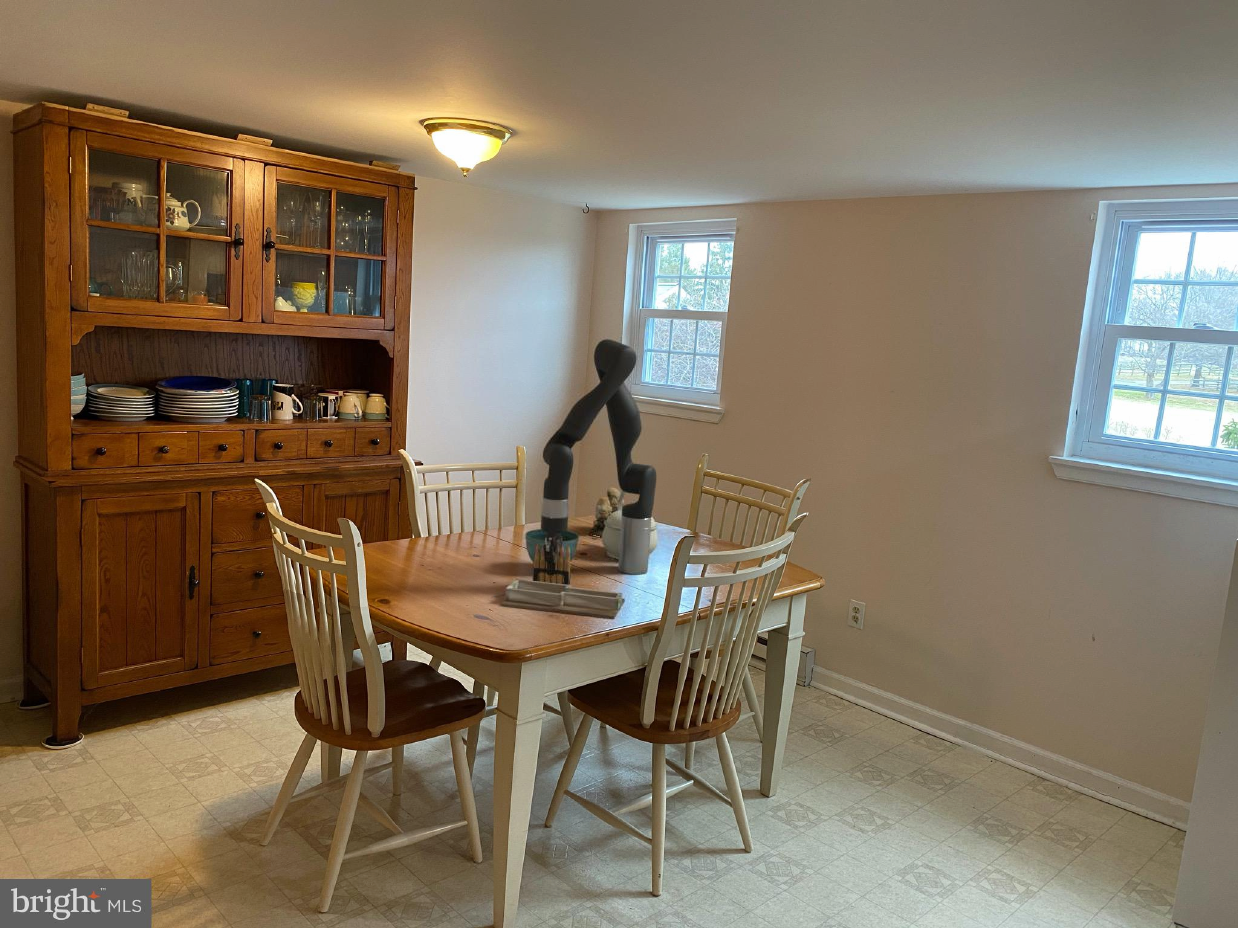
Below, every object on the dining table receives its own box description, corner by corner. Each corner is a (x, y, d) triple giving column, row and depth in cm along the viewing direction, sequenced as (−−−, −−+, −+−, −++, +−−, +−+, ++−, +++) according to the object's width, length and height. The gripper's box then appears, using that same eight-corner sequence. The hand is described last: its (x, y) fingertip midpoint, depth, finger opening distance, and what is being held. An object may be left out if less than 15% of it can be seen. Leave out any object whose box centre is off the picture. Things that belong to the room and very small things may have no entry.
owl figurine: (602, 526, 344) (605, 482, 342) (631, 531, 340) (635, 486, 338) (582, 535, 328) (585, 488, 325) (613, 540, 323) (616, 492, 321)
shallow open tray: (518, 589, 256) (519, 576, 256) (624, 601, 252) (625, 588, 251) (501, 605, 241) (502, 591, 240) (614, 618, 236) (615, 604, 235)
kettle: (667, 563, 296) (673, 487, 292) (614, 565, 289) (620, 487, 285) (637, 544, 319) (642, 474, 315) (588, 546, 312) (592, 474, 308)
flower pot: (569, 579, 270) (571, 543, 268) (516, 573, 273) (518, 537, 272) (582, 566, 286) (584, 532, 284) (532, 560, 289) (534, 526, 287)
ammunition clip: (531, 584, 260) (533, 543, 258) (533, 583, 262) (535, 542, 260) (568, 589, 258) (570, 547, 257) (570, 587, 260) (572, 546, 258)
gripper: (548, 507, 264) (545, 566, 267) (535, 517, 251) (532, 578, 254) (573, 510, 263) (570, 569, 266) (562, 520, 250) (558, 581, 252)
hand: (551, 573), depth 260 cm, fingers closed on ammunition clip, 2 cm apart
